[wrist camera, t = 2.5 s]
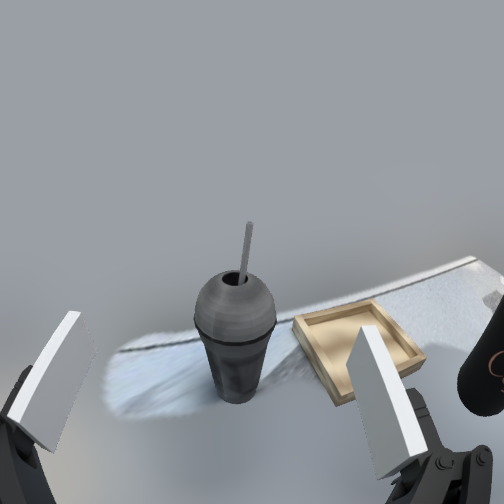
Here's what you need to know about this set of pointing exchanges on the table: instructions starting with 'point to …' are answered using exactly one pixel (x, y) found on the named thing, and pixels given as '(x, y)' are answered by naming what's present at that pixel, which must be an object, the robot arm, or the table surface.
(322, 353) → the tray
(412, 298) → the table surface
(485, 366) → the coffee jar
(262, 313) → the beverage cup
